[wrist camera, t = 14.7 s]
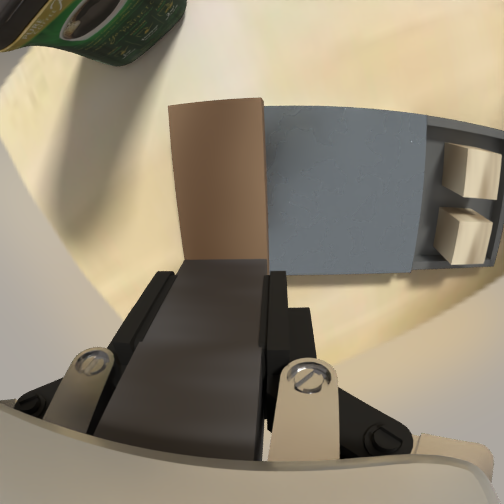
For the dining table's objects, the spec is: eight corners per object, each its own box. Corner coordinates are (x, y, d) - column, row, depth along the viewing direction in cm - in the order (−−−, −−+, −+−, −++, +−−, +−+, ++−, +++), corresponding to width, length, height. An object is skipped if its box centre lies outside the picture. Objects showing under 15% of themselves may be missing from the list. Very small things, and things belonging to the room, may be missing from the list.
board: (414, 114, 23) (426, 115, 20) (401, 260, 28) (410, 272, 26) (182, 113, 24) (173, 113, 22) (197, 262, 30) (191, 275, 28)
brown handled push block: (263, 101, 11) (159, -32, 1) (271, 374, 17) (260, 573, 6) (187, 107, 11) (-118, 144, 1) (219, 372, 17) (181, 564, 7)
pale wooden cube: (439, 206, 25) (471, 208, 25) (433, 246, 27) (464, 246, 26) (459, 221, 22) (492, 222, 21) (451, 264, 23) (483, 263, 23)
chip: (444, 142, 23) (477, 147, 22) (441, 185, 24) (473, 187, 24) (467, 148, 19) (501, 154, 19) (463, 196, 21) (496, 199, 20)
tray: (502, 131, 22) (514, 133, 20) (484, 258, 27) (493, 266, 26) (417, 114, 22) (427, 115, 21) (404, 260, 28) (411, 269, 27)
